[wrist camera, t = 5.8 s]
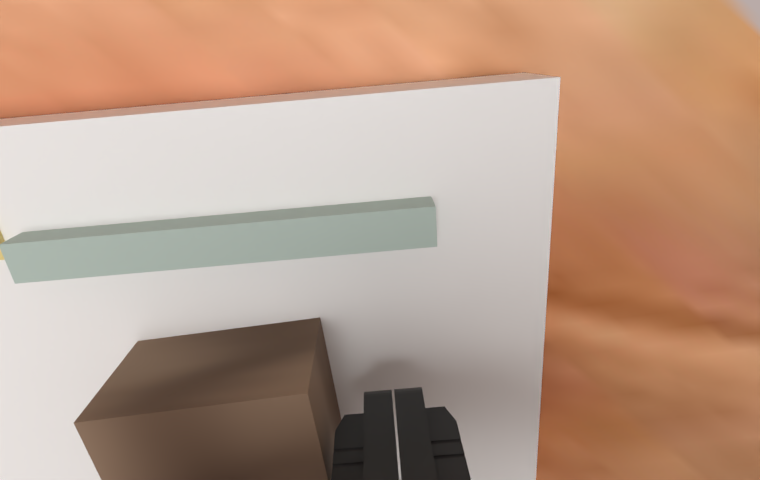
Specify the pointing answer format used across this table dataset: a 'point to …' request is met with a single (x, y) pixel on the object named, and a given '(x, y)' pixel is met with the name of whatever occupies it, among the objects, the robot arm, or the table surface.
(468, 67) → the table surface
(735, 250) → the table surface
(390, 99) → the board
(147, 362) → the walnut block
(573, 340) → the table surface
